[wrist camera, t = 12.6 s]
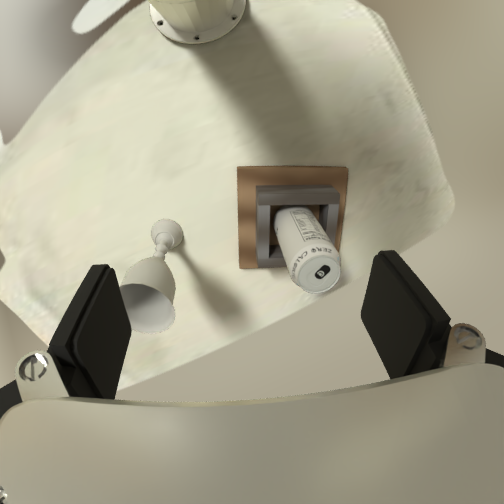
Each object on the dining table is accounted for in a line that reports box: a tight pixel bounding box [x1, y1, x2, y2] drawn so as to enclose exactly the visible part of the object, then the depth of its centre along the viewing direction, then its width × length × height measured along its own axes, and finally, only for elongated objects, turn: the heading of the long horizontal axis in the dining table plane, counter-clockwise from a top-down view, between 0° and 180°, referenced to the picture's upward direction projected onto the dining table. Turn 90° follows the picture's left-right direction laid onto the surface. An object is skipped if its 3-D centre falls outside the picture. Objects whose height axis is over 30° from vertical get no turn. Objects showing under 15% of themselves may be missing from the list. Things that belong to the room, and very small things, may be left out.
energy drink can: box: [273, 205, 341, 294], centre depth 39 cm, size 6×6×15 cm
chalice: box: [119, 219, 183, 334], centre depth 39 cm, size 7×7×18 cm
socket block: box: [237, 166, 348, 269], centre depth 45 cm, size 16×16×5 cm
